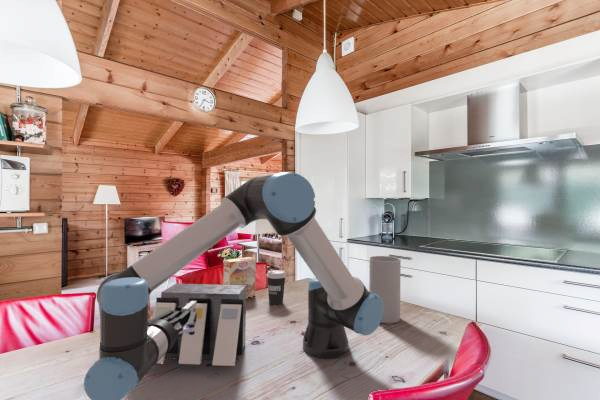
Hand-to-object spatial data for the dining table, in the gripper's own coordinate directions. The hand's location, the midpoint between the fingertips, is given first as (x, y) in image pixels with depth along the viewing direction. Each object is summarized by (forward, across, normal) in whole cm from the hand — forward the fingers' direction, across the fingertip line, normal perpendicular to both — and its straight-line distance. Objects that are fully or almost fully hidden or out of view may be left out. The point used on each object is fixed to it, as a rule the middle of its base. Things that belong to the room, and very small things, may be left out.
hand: (193, 305), depth 88 cm
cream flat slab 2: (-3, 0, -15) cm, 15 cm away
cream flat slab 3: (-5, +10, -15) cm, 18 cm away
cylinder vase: (+40, +65, -18) cm, 79 cm away
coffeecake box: (+63, -1, -18) cm, 66 cm away
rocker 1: (-5, -10, -14) cm, 18 cm away
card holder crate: (+9, 0, -18) cm, 20 cm away
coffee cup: (+56, +18, -18) cm, 62 cm away
